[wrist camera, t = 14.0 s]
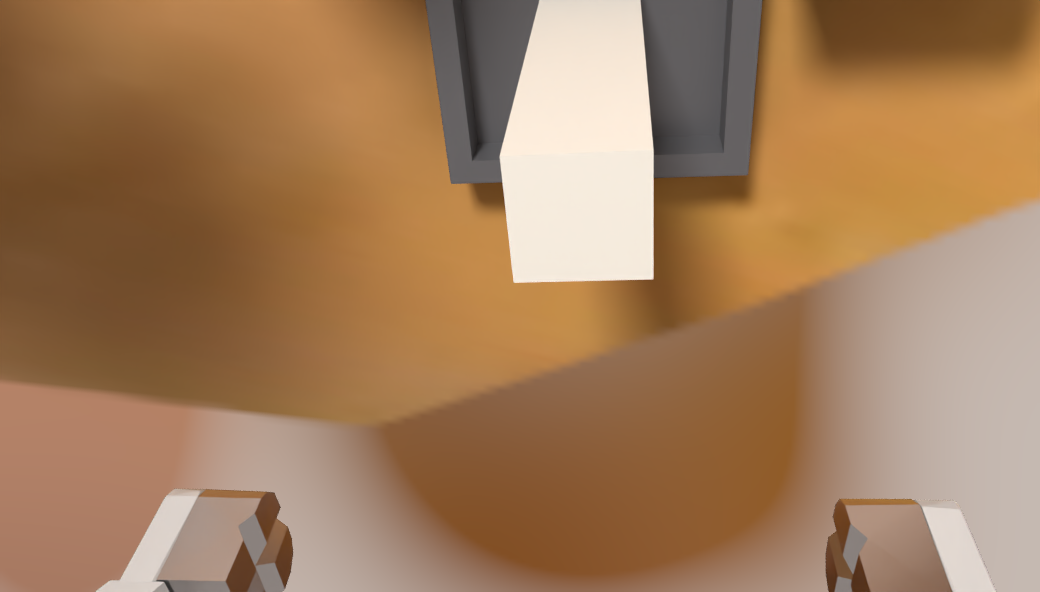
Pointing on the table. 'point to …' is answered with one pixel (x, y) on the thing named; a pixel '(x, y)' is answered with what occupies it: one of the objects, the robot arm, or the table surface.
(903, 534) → the robot arm
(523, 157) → the peg
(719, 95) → the tray
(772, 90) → the table surface
